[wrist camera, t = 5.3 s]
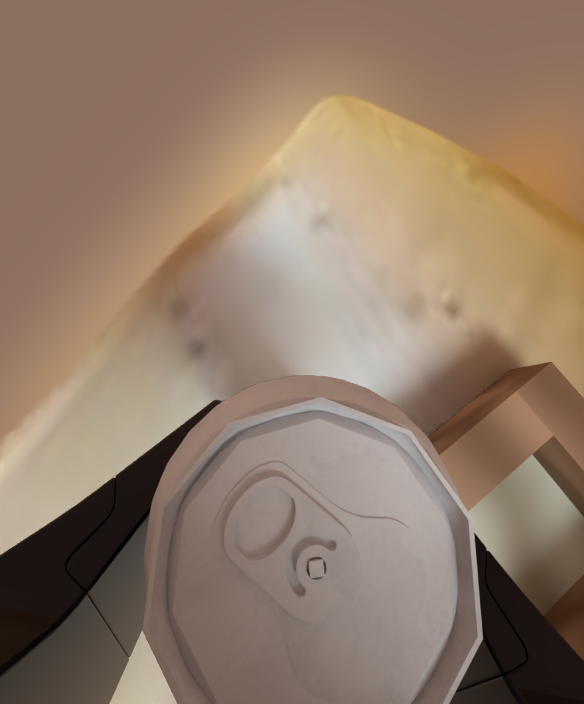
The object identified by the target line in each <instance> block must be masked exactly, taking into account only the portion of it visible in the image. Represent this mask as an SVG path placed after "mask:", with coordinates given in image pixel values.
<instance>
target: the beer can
mask: <svg viewBox="0 0 584 704" xmlns="http://www.w3.org/2000/svg"><path fill="white" fill-rule="evenodd" d="M144 576H145V594H146V607H145V615H144V622H143V629H142V630H143V632H144V634H145V637H146V639H147V641H148V643H149V645H150V647H151V649H152V651H153V653H154V655H155V657H156V660H157V662H158V664H159V666H160V668H161V670H162V672H163V674H164V676H165V678H166V681H167V683H168V685H169V687H170V689H171V691H172V693H173V695H174V697H175V699H176V701H177V704H449V703H450V701H451V699H452V697H453V695H454V694H455V692H456V690H457V688H458V686H459V684H460V682H461V680H462V678H463V676H464V674H465V672H466V670H467V669H468V667H469V665H470V663H471V661H472V659H473V657H474V655H475V653H476V651H477V649H478V647H479V645H480V644H481V642H482V640H483V632H482V620H481V608H480V596H479V584H478V572H477V560H476V548H475V536H474V524H473V518H472V516H471V515H470V513H469V512H468V511H467V509H466V508H465V506H464V505H463V504H462V501H461V499H460V496H459V494H458V491H457V489H456V487H455V484H454V482H453V480H452V478H451V476H450V474H449V472H448V470H447V469H446V467H445V465H444V463H443V461H442V460H441V458H440V456H439V455H438V453H437V451H436V450H435V448H434V446H433V445H432V443H431V442H430V440H429V438H428V437H427V436H426V435H425V434H424V432H423V431H422V430H421V429H420V428H419V427H418V426H417V425H416V424H415V423H414V422H413V421H411V420H410V419H409V418H408V417H407V416H406V415H405V414H404V413H403V412H402V411H401V410H400V409H399V408H398V407H397V406H395V405H393V404H392V403H390V402H389V401H387V400H385V399H384V398H382V397H381V396H379V395H377V394H376V393H374V392H372V391H371V390H369V389H367V388H364V387H362V386H359V385H356V384H353V383H350V382H347V381H344V380H341V379H336V378H331V377H326V376H313V375H309V376H289V377H285V378H280V379H275V380H271V381H266V382H262V383H258V384H255V385H253V386H250V387H248V388H246V389H244V390H242V391H241V392H239V393H237V394H236V395H234V396H232V397H230V398H228V399H226V400H224V401H223V402H221V403H220V404H218V405H217V406H216V407H215V408H213V409H212V410H211V411H210V412H209V413H208V414H207V415H206V416H205V417H204V418H203V419H202V420H201V421H200V422H199V423H198V424H197V425H196V426H194V427H193V428H192V429H191V430H190V431H189V433H188V434H187V436H186V437H185V438H184V440H183V441H182V443H181V444H180V446H179V447H178V448H177V450H176V451H175V453H174V454H173V456H172V457H171V459H170V460H169V462H168V464H167V466H166V468H165V470H164V473H163V475H162V477H161V479H160V482H159V485H158V487H157V490H156V492H155V495H154V497H153V500H152V505H151V510H150V515H149V522H148V529H147V537H146V544H145V551H144Z"/></svg>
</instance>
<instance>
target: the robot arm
mask: <svg viewBox="0 0 584 704" xmlns="http://www.w3.org/2000/svg"><path fill="white" fill-rule="evenodd" d="M221 402H223V401H220V400H214V401H213V402H211V403H210V404H209V405H207V406H206V407H205V408H203V409H202V410H201V411H200V412H198V413H197V414H196V415H194V416H193V417H192V418H190V419H189V420H188V421H186V422H185V423H184V424H183V425H181V426H180V427H179V428H177V429H176V430H175V431H173V432H172V433H171V434H169V435H168V436H167V437H166V438H164V439H163V440H162V441H160V442H159V443H158V444H156V445H155V446H154V447H152V448H151V449H150V450H149V451H147V452H146V453H145V454H143V455H142V456H141V457H139V458H138V459H137V460H136V461H134V462H133V463H132V464H130V465H129V466H128V467H126V468H125V469H124V470H122V471H121V472H120V473H119V474H117V475H116V478H112V479H110V480H109V481H108V482H107V483H105V484H104V485H103V486H101V487H100V488H99V489H97V490H96V491H95V492H93V493H92V494H91V495H89V496H88V497H86V498H85V499H84V500H82V501H81V502H80V503H78V504H77V505H75V506H74V507H73V508H71V509H70V510H68V511H67V512H65V513H64V514H62V515H61V516H59V517H58V518H56V519H55V520H53V521H52V522H50V523H49V524H47V525H46V526H44V527H43V528H41V529H40V530H38V531H37V532H35V533H34V534H32V535H30V536H29V537H27V538H26V539H24V540H23V541H21V542H20V543H18V544H17V545H15V546H14V547H12V548H10V549H9V550H7V551H6V552H4V553H3V554H1V555H0V704H109V703H110V701H111V699H112V696H113V694H114V692H115V690H116V687H117V685H118V683H119V681H120V678H121V676H122V674H123V672H124V670H125V667H126V665H127V663H128V661H129V658H128V657H130V656H131V654H132V651H133V649H134V647H135V645H136V642H137V640H138V638H139V636H140V633H141V631H142V629H143V622H144V615H145V607H146V594H145V576H144V551H145V544H146V537H147V529H148V522H149V515H150V510H151V505H152V500H153V497H154V495H155V492H156V490H157V487H158V485H159V482H160V479H161V477H162V475H163V473H164V470H165V468H166V466H167V464H168V462H169V460H170V459H171V457H172V456H173V454H174V453H175V451H176V450H177V448H178V447H179V446H180V444H181V443H182V441H183V440H184V438H185V437H186V436H187V434H188V433H189V431H190V430H191V429H192V428H193V427H194V426H196V425H197V424H198V423H199V422H200V421H201V420H202V419H203V418H204V417H205V416H206V415H207V414H208V413H209V412H210V411H211V410H212V409H213V408H215V407H216V406H217V405H218V404H220V403H221ZM474 536H475V548H476V560H477V572H478V584H479V596H480V608H481V620H482V632H483V640H482V642H481V644H480V645H479V647H478V649H477V651H476V653H475V655H474V657H473V659H472V661H471V663H470V665H469V667H468V669H467V670H466V672H465V674H464V676H463V678H462V680H461V682H460V684H459V686H458V688H457V690H456V692H455V694H454V695H453V697H452V699H451V701H450V703H449V704H584V660H583V659H582V658H581V657H580V656H579V655H578V654H577V653H576V652H575V650H574V649H573V648H572V647H571V646H570V645H569V644H568V643H567V641H566V640H565V639H564V638H563V637H562V636H561V635H560V634H559V633H558V631H557V630H556V629H555V628H554V627H553V626H552V625H551V624H550V623H549V621H548V620H547V619H546V618H545V617H544V616H543V615H542V613H541V612H540V611H539V610H538V609H537V608H536V607H535V605H534V604H533V603H532V602H531V601H530V600H529V599H528V597H527V596H526V595H525V594H524V593H523V592H522V590H521V589H520V588H519V587H518V586H517V584H516V583H515V582H514V581H513V580H512V578H511V577H510V576H509V575H508V573H507V572H506V571H505V570H504V569H503V567H502V566H501V565H500V564H499V562H498V561H497V560H496V559H495V557H494V556H493V555H492V554H491V552H490V551H487V548H486V546H485V545H484V544H483V543H482V541H481V540H480V539H479V538H478V536H477V535H476V534H475V533H474Z"/></svg>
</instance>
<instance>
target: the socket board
mask: <svg viewBox="0 0 584 704" xmlns="http://www.w3.org/2000/svg"><path fill="white" fill-rule="evenodd" d="M428 438H429V440H430V442H431V443H432V445H433V446H434V448H435V450H436V451H437V453H438V455H439V456H440V458H441V460H442V461H443V463H444V465H445V467H446V469H447V470H448V472H449V474H450V476H451V478H452V480H453V482H454V484H455V487H456V489H457V491H458V494H459V496H460V499H461V501H462V504H463V505H464V506H465V508H466V509H467V511H468V512H469V513H470V515H471V516H472V518H473V524H474V533H475V534H476V535H477V536H478V538H479V539H480V540H481V541H482V543H483V544H484V545H485V546H486V548H487V551H490V552H491V554H492V555H493V556H494V557H495V559H496V560H497V561H498V562H499V564H500V565H501V566H502V567H503V569H504V570H505V571H506V572H507V573H508V575H509V576H510V577H511V578H512V580H513V581H514V582H515V583H516V584H517V586H518V587H519V588H520V589H521V590H522V592H523V593H524V594H525V595H526V596H527V597H528V599H529V600H530V601H531V602H532V603H533V604H534V605H535V607H536V608H537V609H538V610H539V611H540V612H541V613H542V615H543V616H544V617H545V618H546V619H547V620H548V621H549V623H550V624H551V625H552V626H553V627H554V628H555V629H556V630H557V631H558V633H559V634H560V635H561V636H562V637H563V638H564V639H565V640H566V641H567V643H568V644H569V645H570V646H571V647H572V648H573V649H574V650H575V652H576V653H577V654H578V655H579V656H580V657H581V658H582V659H583V660H584V398H583V397H582V396H581V395H580V394H579V393H578V391H577V390H576V389H575V388H574V387H573V386H572V385H571V384H570V382H569V381H568V380H567V379H566V378H565V377H564V376H563V375H562V373H561V372H560V371H559V370H558V369H557V368H556V367H555V366H554V364H553V363H552V362H549V363H543V364H538V365H533V366H527V367H522V368H517V369H511V370H510V371H508V372H507V373H506V374H505V375H504V376H502V377H501V378H500V379H499V380H497V381H496V382H495V383H494V384H493V385H491V386H490V387H489V388H488V389H486V390H485V391H484V392H483V393H481V394H480V395H479V396H478V397H477V398H475V399H474V400H473V401H472V402H470V403H469V404H468V405H467V406H465V407H464V408H463V409H462V410H461V411H459V412H458V413H457V414H456V415H454V416H453V417H452V418H451V419H449V420H448V421H447V422H446V423H445V424H443V425H442V426H441V427H440V428H438V429H437V430H436V431H435V432H434V433H432V434H431V435H430V436H429V437H428Z"/></svg>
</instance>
